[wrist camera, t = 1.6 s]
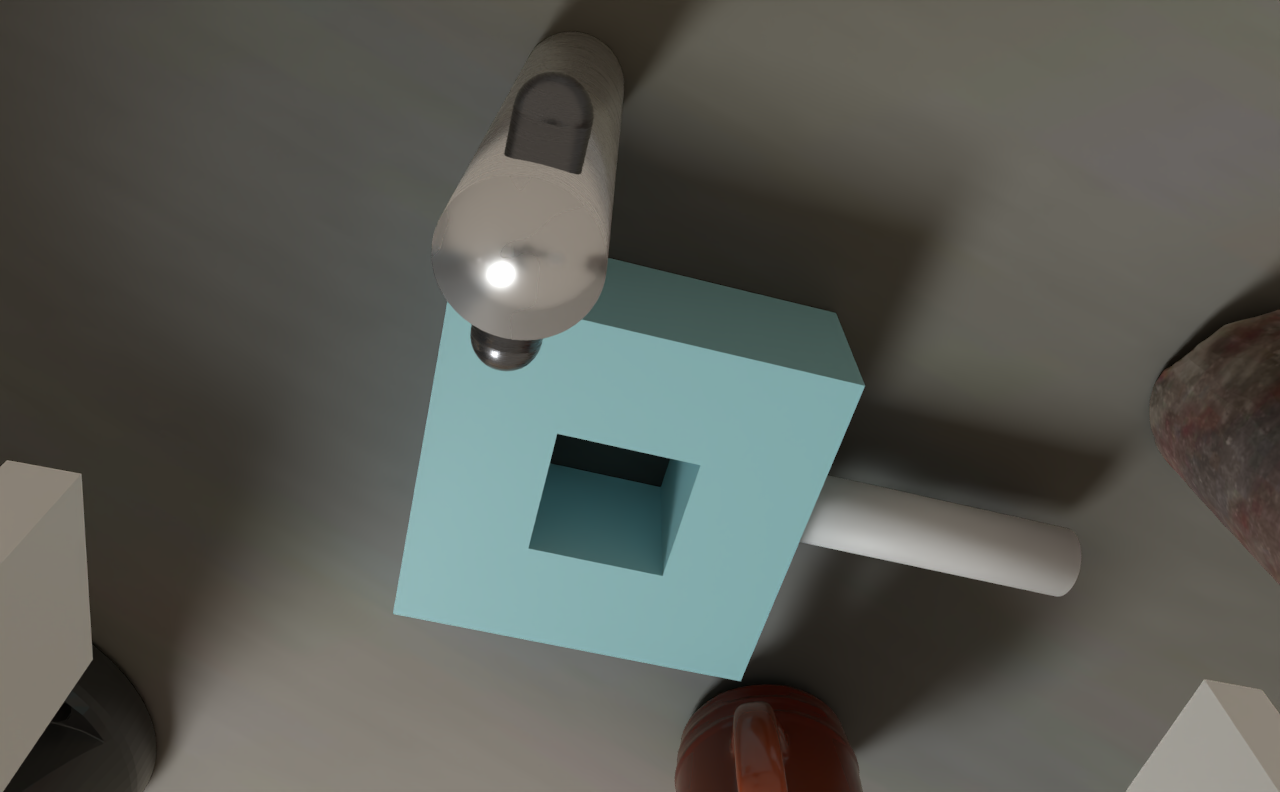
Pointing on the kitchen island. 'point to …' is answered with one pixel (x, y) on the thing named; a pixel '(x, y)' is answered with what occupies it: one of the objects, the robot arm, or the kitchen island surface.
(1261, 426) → the brown mottled cylinder
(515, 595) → the chuck block
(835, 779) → the mug
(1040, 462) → the kitchen island surface
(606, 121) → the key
